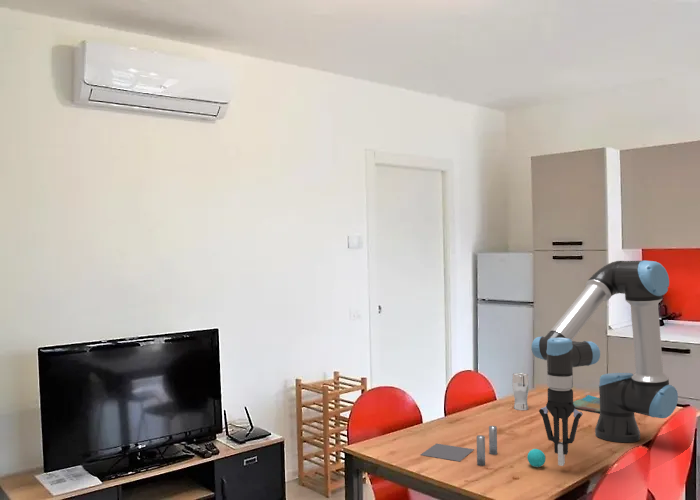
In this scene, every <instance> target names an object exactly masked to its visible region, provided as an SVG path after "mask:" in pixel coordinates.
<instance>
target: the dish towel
mask: <svg viewBox="0 0 700 500" xmlns="http://www.w3.org/2000/svg"><path fill="white" fill-rule="evenodd" d="M573 404H574V406H575V409H576V410H577V411H581V412H582V411H584V412H590V413H595V414H599V415H600V397H597V396H593V395H589V394H588V395H585V397H583V398H580V399H576V400H573Z"/></svg>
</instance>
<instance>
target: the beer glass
mask: <svg viewBox="0 0 700 500" xmlns="http://www.w3.org/2000/svg"><path fill="white" fill-rule="evenodd" d="M511 381H512V382H511V384H512V392H513V397H514V403H513V404H514V405H513V409H514V410H516V411H528V410H529V406H528V404H529V403H528V395H529V390H530V389H529V388H530V382H529V381H530V380H529V374H528V373H525V372H524V373H523V372H514V373H513V374H512V380H511Z"/></svg>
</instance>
